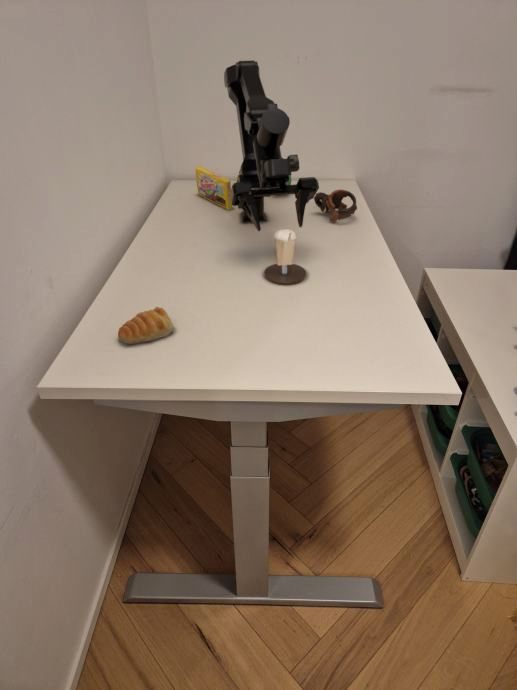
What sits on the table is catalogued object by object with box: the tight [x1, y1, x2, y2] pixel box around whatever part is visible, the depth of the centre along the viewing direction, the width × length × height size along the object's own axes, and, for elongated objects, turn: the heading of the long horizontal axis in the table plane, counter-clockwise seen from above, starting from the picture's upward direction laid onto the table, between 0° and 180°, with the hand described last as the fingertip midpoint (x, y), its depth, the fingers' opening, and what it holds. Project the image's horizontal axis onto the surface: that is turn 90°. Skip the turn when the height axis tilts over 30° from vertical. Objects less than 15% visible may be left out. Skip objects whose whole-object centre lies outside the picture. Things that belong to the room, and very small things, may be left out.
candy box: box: [194, 166, 233, 211], centre depth 135 cm, size 16×2×8 cm, turn 37°
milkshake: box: [274, 228, 298, 274], centre depth 98 cm, size 4×5×10 cm
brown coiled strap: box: [313, 189, 358, 224], centre depth 127 cm, size 12×9×8 cm
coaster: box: [263, 263, 307, 286], centre depth 101 cm, size 9×9×1 cm
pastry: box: [117, 306, 174, 345], centre depth 82 cm, size 9×7×4 cm
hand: (280, 228), depth 100 cm, fingers open, 9 cm apart
